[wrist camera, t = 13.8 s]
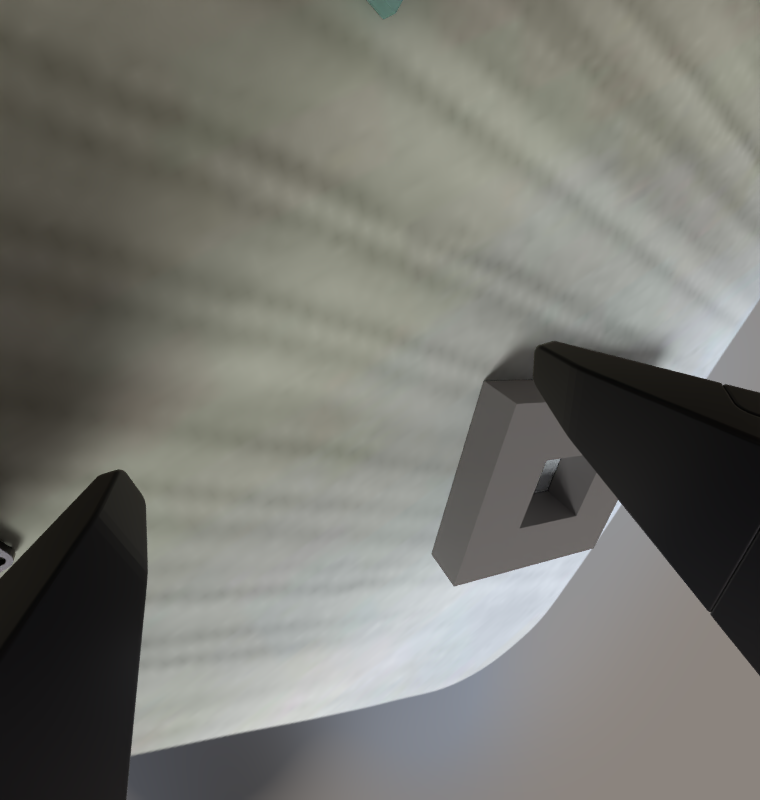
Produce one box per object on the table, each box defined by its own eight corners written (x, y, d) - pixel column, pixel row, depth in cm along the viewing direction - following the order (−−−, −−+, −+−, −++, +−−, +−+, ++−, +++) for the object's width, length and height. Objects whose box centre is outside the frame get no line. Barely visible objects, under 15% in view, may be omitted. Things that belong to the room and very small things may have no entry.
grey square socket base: (431, 554, 33) (454, 586, 31) (483, 380, 27) (516, 404, 25) (566, 523, 39) (593, 548, 37) (632, 377, 33) (670, 395, 31)
